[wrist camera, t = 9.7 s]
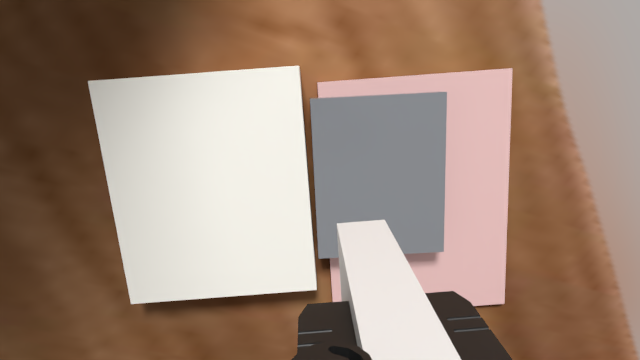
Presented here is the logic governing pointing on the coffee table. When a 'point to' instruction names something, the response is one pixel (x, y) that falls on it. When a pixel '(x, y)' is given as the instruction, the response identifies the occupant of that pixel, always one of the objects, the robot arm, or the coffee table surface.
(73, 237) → the coffee table surface
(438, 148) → the coaster
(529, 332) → the coffee table surface
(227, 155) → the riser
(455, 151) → the felt mat
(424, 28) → the coffee table surface
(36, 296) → the coffee table surface
